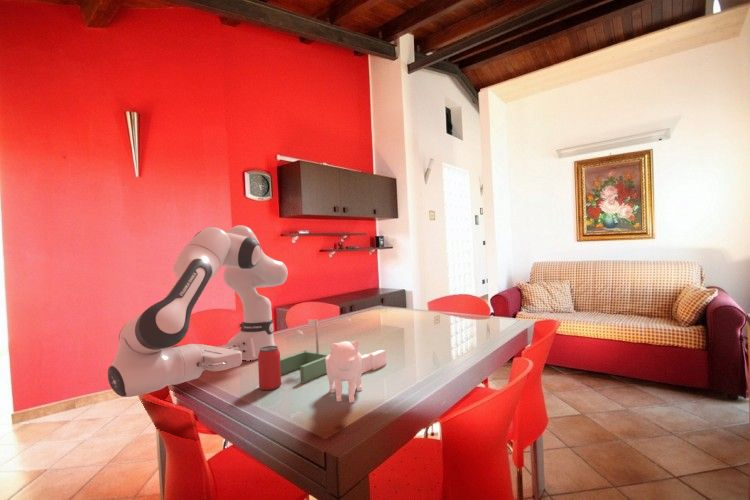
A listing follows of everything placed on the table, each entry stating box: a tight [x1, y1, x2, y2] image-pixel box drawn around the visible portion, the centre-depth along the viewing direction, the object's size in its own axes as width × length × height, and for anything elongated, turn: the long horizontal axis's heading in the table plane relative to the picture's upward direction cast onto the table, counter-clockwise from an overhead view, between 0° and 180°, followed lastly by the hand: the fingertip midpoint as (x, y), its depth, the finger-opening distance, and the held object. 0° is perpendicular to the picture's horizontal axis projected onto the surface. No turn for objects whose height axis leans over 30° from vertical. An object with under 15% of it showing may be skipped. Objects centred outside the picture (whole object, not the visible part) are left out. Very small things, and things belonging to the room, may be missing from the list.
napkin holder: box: [361, 349, 387, 374], centre depth 125 cm, size 15×11×6 cm
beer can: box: [257, 345, 282, 391], centre depth 111 cm, size 7×7×12 cm
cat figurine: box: [325, 340, 364, 403], centre depth 102 cm, size 25×10×17 cm, turn 9°
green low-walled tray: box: [280, 319, 330, 383], centre depth 123 cm, size 14×14×17 cm
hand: (236, 349), depth 101 cm, fingers closed
